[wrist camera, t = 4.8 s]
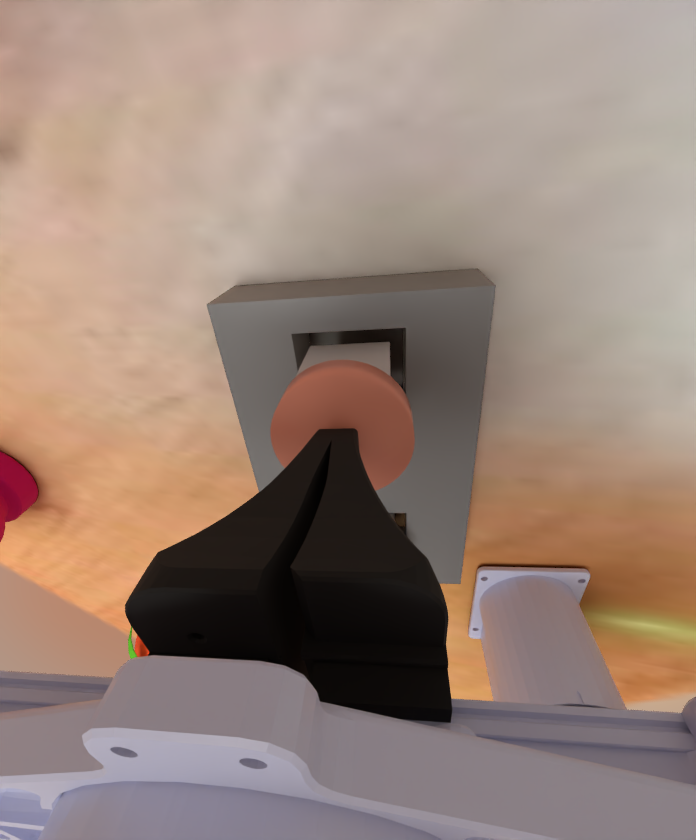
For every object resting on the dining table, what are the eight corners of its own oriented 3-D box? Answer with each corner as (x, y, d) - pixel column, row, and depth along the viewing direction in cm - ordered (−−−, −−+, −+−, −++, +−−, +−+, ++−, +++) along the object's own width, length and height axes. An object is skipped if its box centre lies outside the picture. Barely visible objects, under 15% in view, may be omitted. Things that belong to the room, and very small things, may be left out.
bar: (452, 541, 28) (460, 583, 25) (294, 539, 29) (283, 579, 26) (477, 268, 18) (495, 285, 15) (234, 285, 19) (206, 304, 16)
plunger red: (407, 424, 19) (414, 495, 14) (306, 426, 19) (284, 495, 15) (407, 323, 16) (415, 373, 12) (290, 329, 17) (256, 379, 12)
